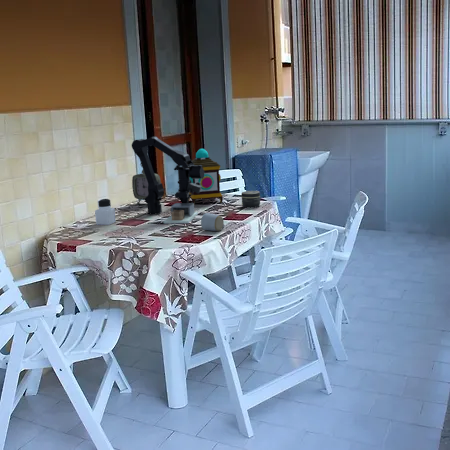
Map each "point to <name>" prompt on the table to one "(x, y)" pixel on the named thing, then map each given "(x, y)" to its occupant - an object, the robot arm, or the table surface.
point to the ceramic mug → (212, 222)
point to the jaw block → (177, 215)
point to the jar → (250, 199)
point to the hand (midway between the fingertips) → (186, 208)
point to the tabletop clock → (141, 185)
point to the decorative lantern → (207, 178)
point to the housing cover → (184, 208)
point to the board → (185, 220)
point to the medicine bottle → (105, 213)
